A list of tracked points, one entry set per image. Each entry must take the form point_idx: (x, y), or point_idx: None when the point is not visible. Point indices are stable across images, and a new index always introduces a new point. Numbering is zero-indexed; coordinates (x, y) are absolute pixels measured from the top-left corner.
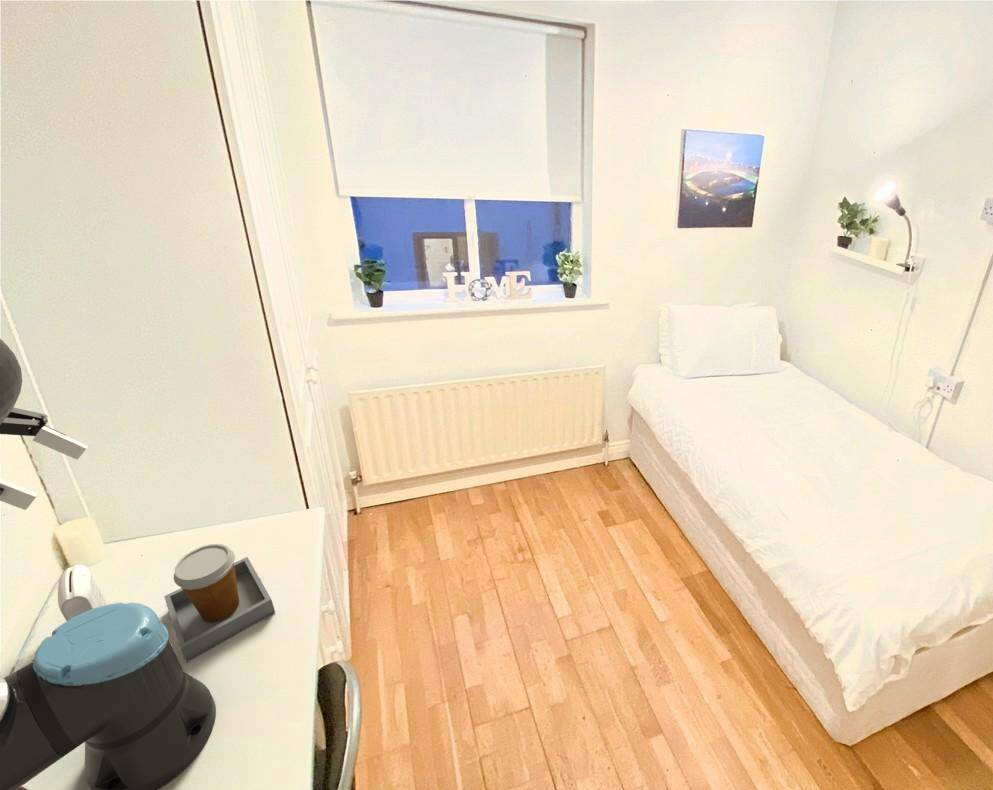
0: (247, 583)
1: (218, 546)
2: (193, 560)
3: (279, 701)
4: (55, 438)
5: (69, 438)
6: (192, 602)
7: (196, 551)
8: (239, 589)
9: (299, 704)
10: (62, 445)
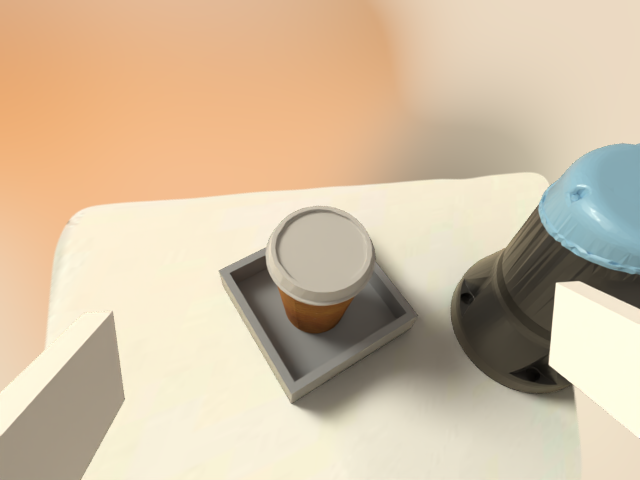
0: (264, 278)
1: (279, 234)
2: (311, 268)
3: (470, 201)
4: (43, 425)
5: (41, 361)
6: (348, 305)
7: (283, 271)
8: (276, 287)
9: (474, 182)
10: (77, 415)
